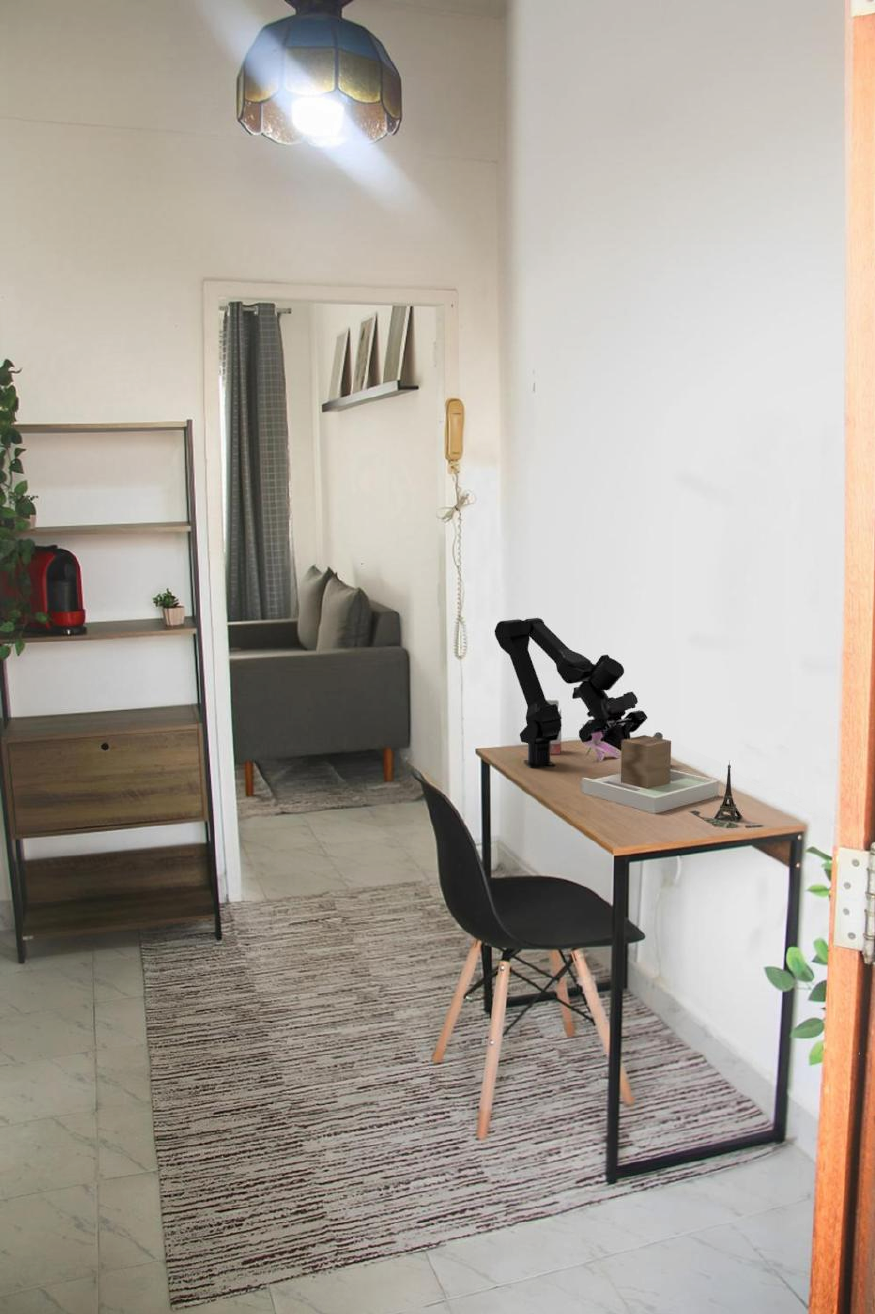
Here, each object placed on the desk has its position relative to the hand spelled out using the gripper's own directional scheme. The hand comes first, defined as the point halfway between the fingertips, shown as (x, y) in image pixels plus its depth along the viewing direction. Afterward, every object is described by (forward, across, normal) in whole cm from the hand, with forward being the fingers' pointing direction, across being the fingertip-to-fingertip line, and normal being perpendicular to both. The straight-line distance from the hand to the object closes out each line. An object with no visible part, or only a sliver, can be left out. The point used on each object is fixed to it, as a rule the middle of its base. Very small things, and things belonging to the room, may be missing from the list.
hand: (631, 754), depth 258 cm
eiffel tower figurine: (+27, -2, -14) cm, 30 cm away
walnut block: (+7, 0, +1) cm, 7 cm away
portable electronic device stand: (-2, +19, +14) cm, 24 cm away
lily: (-13, +17, +25) cm, 33 cm away
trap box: (+10, 0, +2) cm, 10 cm away
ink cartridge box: (-23, +11, +35) cm, 43 cm away
